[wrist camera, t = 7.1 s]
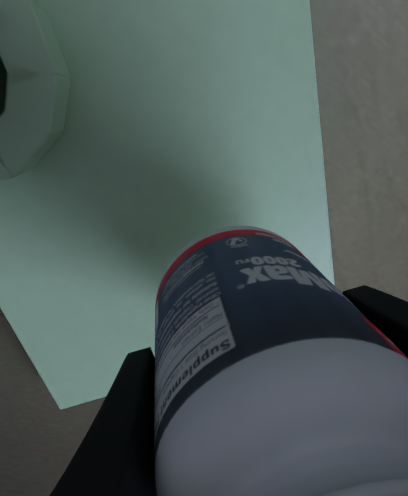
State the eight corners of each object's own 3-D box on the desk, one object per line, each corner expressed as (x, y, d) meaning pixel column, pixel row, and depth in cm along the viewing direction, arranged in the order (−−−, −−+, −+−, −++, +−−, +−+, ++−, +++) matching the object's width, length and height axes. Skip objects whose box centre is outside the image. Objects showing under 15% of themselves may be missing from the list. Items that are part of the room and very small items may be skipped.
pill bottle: (337, 268, 12) (769, 648, 3) (250, 375, 13) (415, 830, 5) (210, 190, 10) (468, 568, 2) (125, 322, 11) (52, 883, 3)
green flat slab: (324, 311, 17) (358, 352, 14) (58, 388, 16) (38, 446, 13) (278, -119, 10) (325, -204, 7) (-172, -10, 10) (-301, -58, 7)
